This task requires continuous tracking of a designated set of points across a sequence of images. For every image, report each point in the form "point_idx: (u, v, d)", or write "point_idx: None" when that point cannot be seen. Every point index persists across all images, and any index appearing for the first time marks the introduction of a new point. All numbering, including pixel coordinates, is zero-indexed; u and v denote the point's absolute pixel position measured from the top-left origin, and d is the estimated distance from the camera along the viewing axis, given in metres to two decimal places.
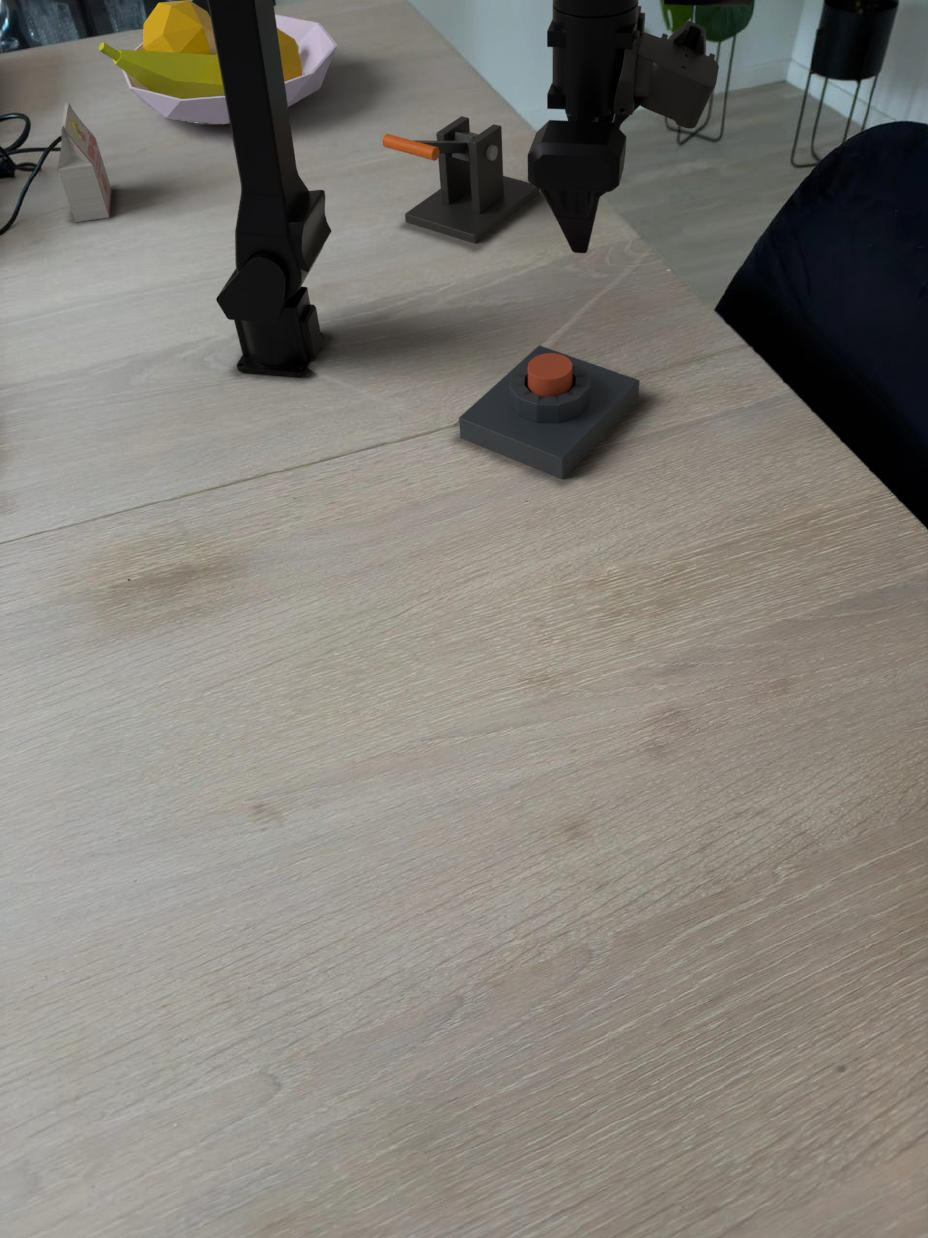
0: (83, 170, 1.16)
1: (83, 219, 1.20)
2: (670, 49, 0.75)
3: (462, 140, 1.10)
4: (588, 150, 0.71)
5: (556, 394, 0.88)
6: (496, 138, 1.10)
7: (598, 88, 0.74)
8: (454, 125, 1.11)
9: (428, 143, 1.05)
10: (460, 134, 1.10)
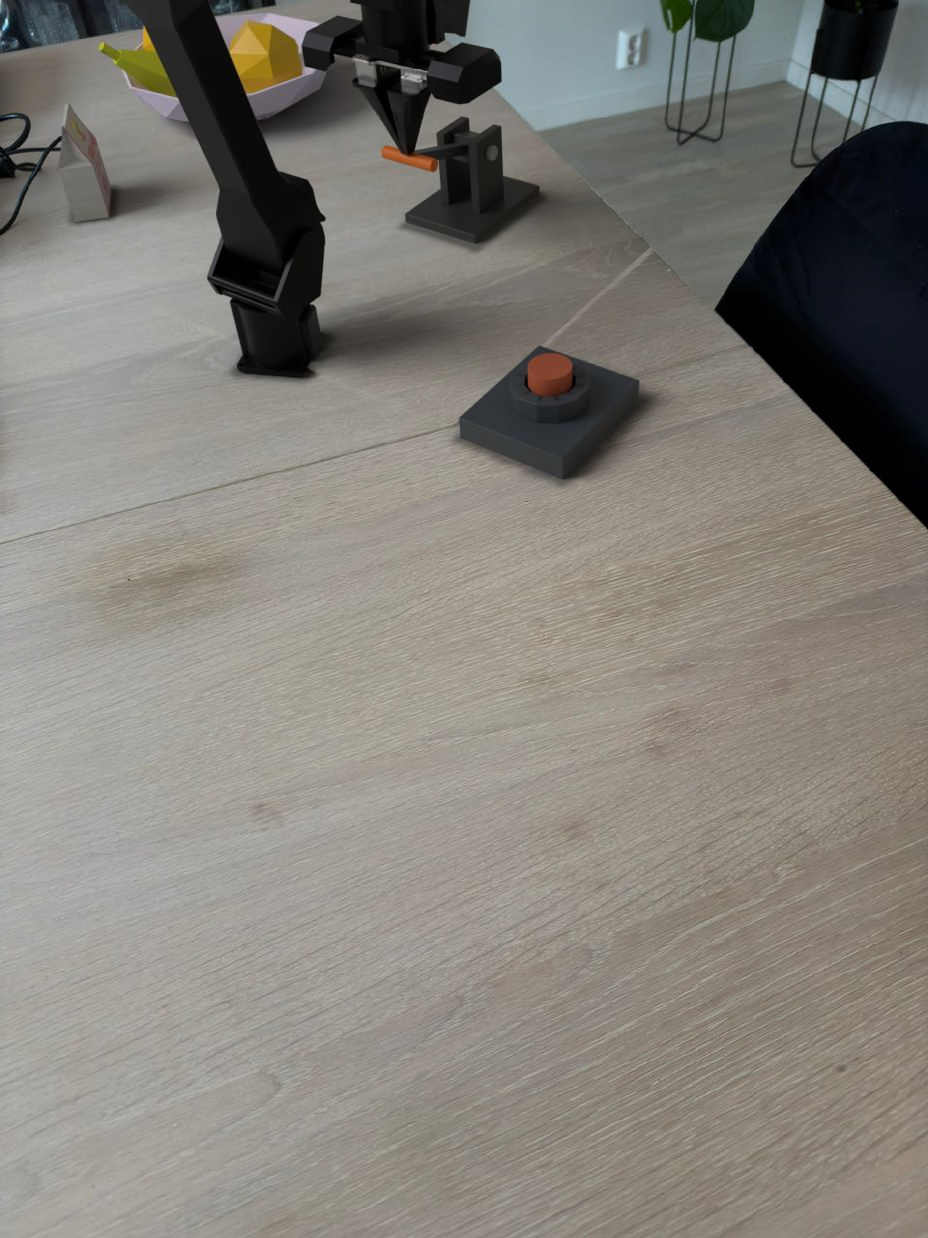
0: (83, 170, 1.16)
1: (83, 219, 1.20)
2: None
3: (461, 142, 1.10)
4: (488, 57, 0.93)
5: (556, 394, 0.88)
6: (496, 138, 1.10)
7: (426, 29, 0.95)
8: (454, 125, 1.11)
9: (427, 152, 1.05)
10: (459, 136, 1.10)
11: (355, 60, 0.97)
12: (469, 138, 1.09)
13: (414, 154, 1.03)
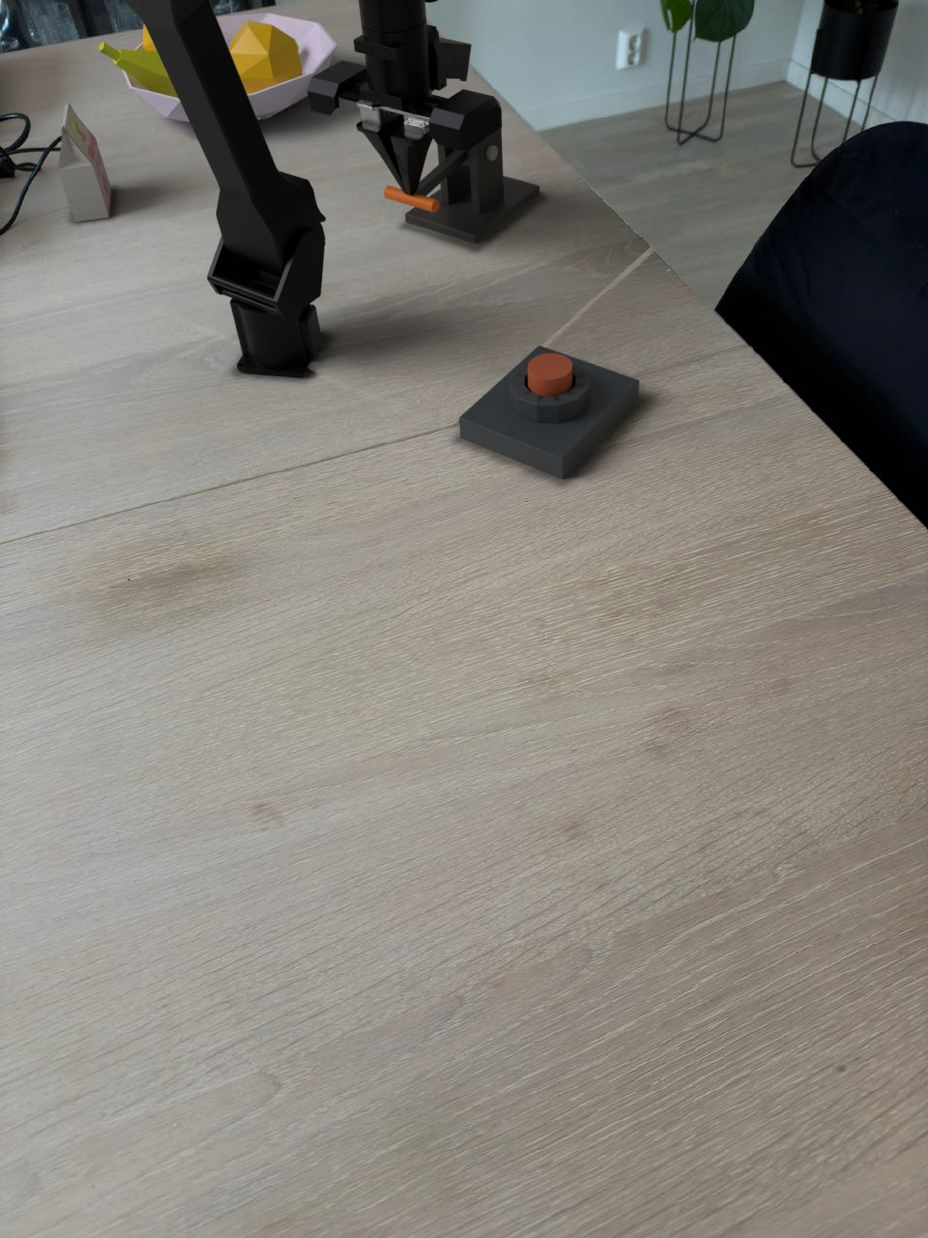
0: (83, 169, 1.16)
1: (83, 219, 1.20)
2: None
3: None
4: (489, 104, 0.96)
5: (556, 394, 0.88)
6: (496, 138, 1.10)
7: (428, 76, 0.97)
8: None
9: (427, 185, 1.07)
10: None
11: (359, 105, 1.00)
12: None
13: (414, 196, 1.06)
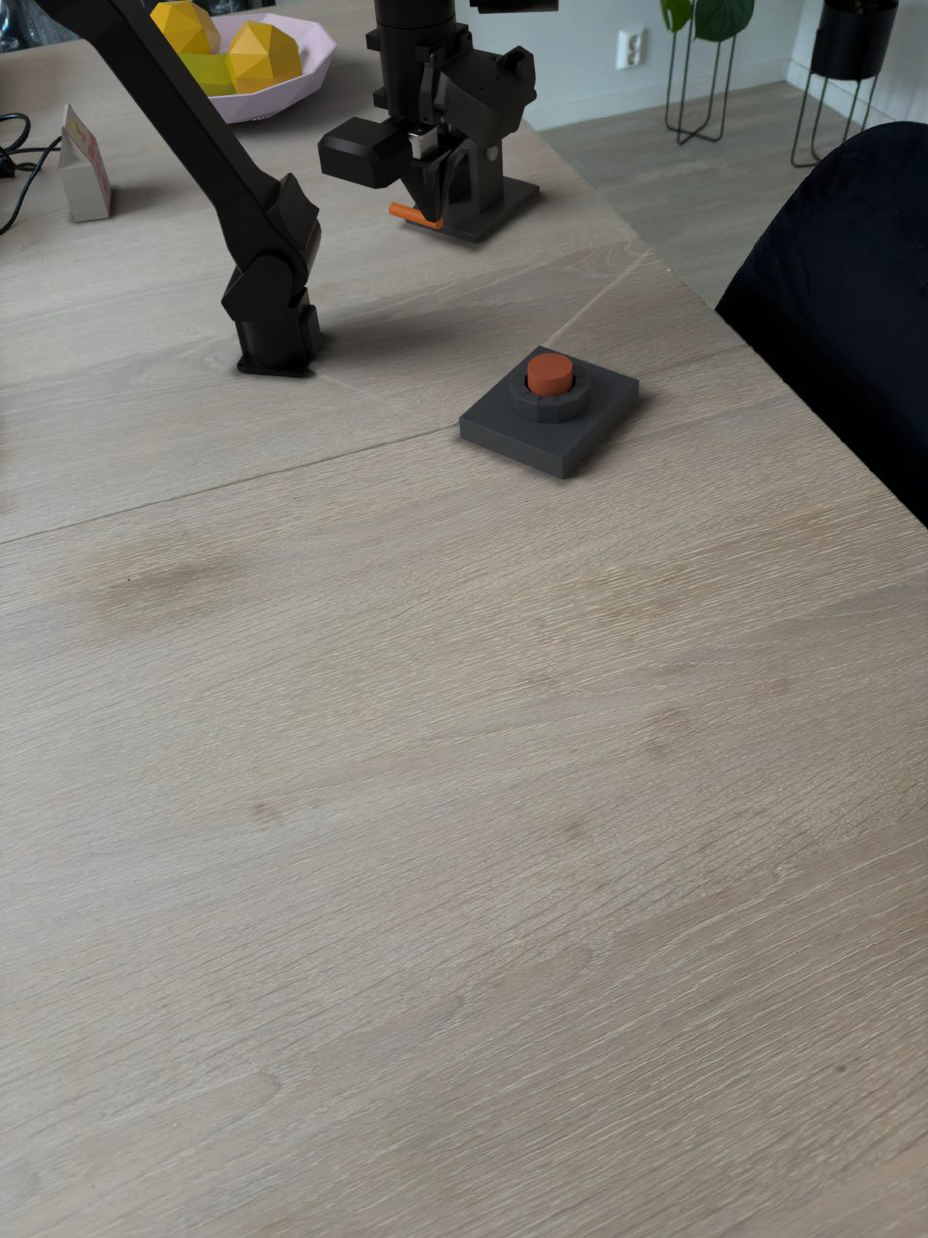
0: (83, 170, 1.16)
1: (83, 219, 1.20)
2: (483, 69, 0.78)
3: (460, 151, 1.10)
4: (356, 149, 0.77)
5: (556, 394, 0.88)
6: None
7: (406, 94, 0.79)
8: None
9: None
10: None
11: None
12: (466, 149, 1.09)
13: (418, 214, 1.08)
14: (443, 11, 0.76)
